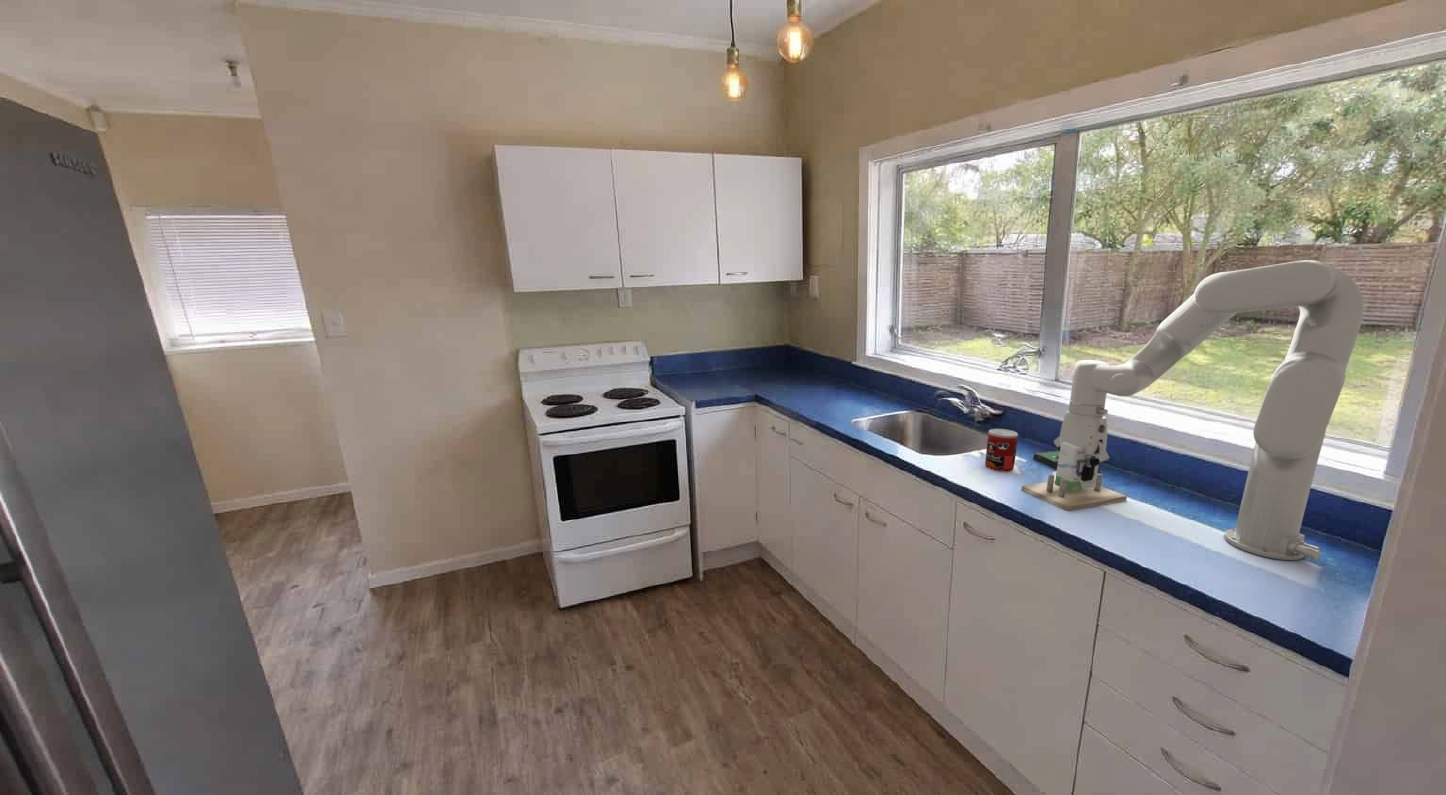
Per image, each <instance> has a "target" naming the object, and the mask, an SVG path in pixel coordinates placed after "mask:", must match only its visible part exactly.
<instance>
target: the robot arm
mask: <svg viewBox="0 0 1446 795" xmlns="http://www.w3.org/2000/svg"><path fill="white" fill-rule="evenodd" d="M1193 292H1194V293H1193V294H1192V295H1190V296H1189V297H1188V298H1187V299H1186V300H1185V301H1184V302H1183V303H1181V305H1180V306H1178V307H1177V308H1176V309H1175V310H1174V311H1173V312H1172V313H1171V314H1170V315H1168V316H1167V317H1166V318H1165V319H1164V320H1162V321H1161V323H1160V324H1158V327H1157V329H1156V331H1155V333H1154V335H1152V338H1151V339H1150V340H1149V341H1148V342H1147V344H1145V345H1144V346H1143V347H1142V348H1141V349H1140V350H1139V351H1138V352H1136V353H1135V354H1134V355H1133V356H1132V357H1131V358H1129V360H1127V361H1126V362H1125V363H1121V364H1118V365H1111V364H1109V363H1108V362H1106V361H1102V360H1097V359H1096V360H1094V359H1083V360H1082V359H1081V360H1078V361H1077V362H1076V363H1075V365H1074V369H1073V375H1072V383H1071V391H1070V399H1069V406H1068V410H1067V411H1066V412H1065V415H1064V417H1063V421H1062V424H1061V426H1060V433H1059V436H1058V437H1056V438H1055V439H1054V440H1053V444H1054V445H1055V446H1056V447H1057V451H1059V452H1060V447H1061V444H1062V443H1063V442H1068V443H1071V444H1073V445H1075V446H1078V447H1081V448H1083V454H1084V455H1085V463H1086V466H1083V471H1082V478H1081V480H1082V481H1090V480H1092V479H1093V476H1094V470H1095V466H1098V464H1099V465H1100V464H1103V463H1104V462H1106V461H1108V460H1109V459H1110V456H1109V454H1108V452H1107V444H1108V443H1107V441H1108V421H1107V420H1108V419H1107V417H1106V416H1104V415H1108V412H1109V410H1108V409H1106V408H1105V407H1106V400H1107V394H1109V395H1113V396H1116V397H1117V396H1118V397H1130V396H1133V395H1136V394H1138V393H1139V392H1141V391H1143V390H1145V389H1147V388H1148V387H1150V386H1151V385H1152V384H1154V382H1156V381H1157V380H1158V379H1159V378H1161V377H1162V376H1163V375H1164V374H1165V373H1166V372H1168V370H1170V369H1171V368H1173V367H1174V366H1175V365H1176V364H1177V363H1178V362H1179V361H1180V360H1182V358H1184V357H1186V356H1187V355H1189V354H1190V353H1191V352H1193V351H1194V350H1195V349H1196V348H1197V347H1198V346H1199V345H1200V344H1202V343H1203V342H1204V341H1205V340H1207V339H1208V338H1209V337H1210V336H1211V335H1212V334H1213V333H1215V332H1216V331H1217V330H1218V329H1219V328H1220V327H1222V326H1223V325H1224V324H1225V323H1227V322H1229V320H1230V319H1232V318H1233V317H1234V316H1235V315H1237V314H1238V313H1239V314H1240V313H1241V314H1242V313H1249V312H1250V313H1251V312H1258V311H1259V312H1260V311H1267V310H1268V311H1269V310H1274V309H1276V310H1277V309H1284V308H1285V309H1287V308H1295V307H1298V309H1299V313H1300V314H1299V317H1298V322H1297V324H1296V327H1295V329H1294V332H1293V336H1292V340H1291V343H1290V345H1289V347H1288V350H1287V353H1286V355H1285V358H1284V359H1283V361H1282V362H1281V363H1280V365H1278V366H1277V367H1276V368H1275V370H1274V372H1273V373H1272V375H1271V378H1270V381H1269V383H1268V386H1267V389H1266V392H1265V395H1264V398H1263V401H1262V403H1261V406H1260V410H1259V412H1258V415H1257V418H1256V421H1255V423H1254V427H1253V438H1254V441H1255V443H1254V444H1255V445H1254V448H1253V450H1252V451H1253V452H1252V455H1251V460H1250V465H1249V468H1248V472H1247V478H1246V481H1245V484H1244V490H1243V493H1242V494H1243V495H1242V498H1241V503H1240V507H1239V512H1238V515H1237V520H1236V524H1235V528H1230V529H1226V530H1225V531H1224V537H1223V538H1224V539H1225V540H1226V542H1228V543H1229V544H1231V545H1232V546H1235V547H1236V548H1238V549H1241V550H1242V551H1246V552H1248V553H1251V554H1254V555H1257V556H1261V557H1266V558H1270V559H1276V560H1282V561H1298V560H1301V559H1303V558H1304V557H1307V558H1309V559H1313V560H1315V561H1316V560H1317V561H1318V560H1319V559H1320V558H1321V554H1322V552H1321V548H1320V547H1319V546H1315V545H1313V544H1309V543H1307V542H1306V541H1305V537H1306V535H1305V534H1302V533H1300V531H1301V526H1302V522H1303V519H1304V515H1305V511H1306V507H1307V502H1308V499H1309V496H1310V492H1311V487H1312V485H1313V481H1314V477H1315V473H1316V468H1317V465H1318V461H1319V458H1320V454H1321V451H1322V448H1323V447H1322V446H1323V443H1324V440H1325V436H1326V431H1327V428H1328V426H1329V423H1330V421H1331V418H1332V416H1333V412H1334V410H1335V408H1336V405H1337V402H1338V400H1339V397H1340V396H1341V395H1340V394H1341V392H1342V390H1343V387H1344V385H1345V382H1346V370H1347V367H1348V363H1349V361H1350V358H1351V356H1352V353H1353V351H1354V347H1355V344H1356V341H1357V337H1358V334H1359V332H1360V329H1361V327H1362V323H1363V318H1364V313H1365V302H1364V301H1365V300H1364V297H1363V294H1362V291H1361V289H1360V288H1359V286H1358V284H1357V283H1356V281H1354V279H1352V278H1351V277H1350V276H1349V275H1348V274H1346V273H1345V272H1343V271H1342V270H1340V269H1338V268H1337V267H1335V266H1332V265H1330V264H1328V263H1326V262H1323V261H1321V260H1320V261H1319V260H1312V259H1304V260H1296V261H1290V262H1284V263H1278V264H1277V263H1276V264H1272V265H1265V266H1259V267H1253V268H1246V269H1239V270H1231V271H1221V272H1216V273H1213V274H1211V275H1208V276H1206V277H1204V279H1202V280H1201V281H1200V282H1199V283H1198V284H1197V286H1196V287H1195V290H1194V291H1193ZM1096 450H1097V451H1096ZM1096 452H1097V453H1096ZM1097 454H1099V457H1098V458H1097ZM1091 459H1092V461H1091Z"/></svg>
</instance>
